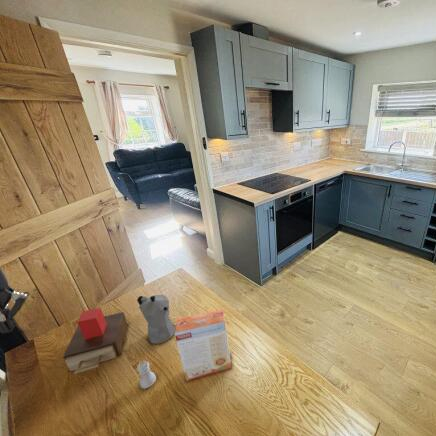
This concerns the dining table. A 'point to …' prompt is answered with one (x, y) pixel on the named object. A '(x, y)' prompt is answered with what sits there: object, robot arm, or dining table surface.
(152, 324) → the grey upright piece
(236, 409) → the dining table surface
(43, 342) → the dining table surface
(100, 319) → the block
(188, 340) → the cracker box
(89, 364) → the drawer
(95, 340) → the cabinet
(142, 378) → the rook chess piece
